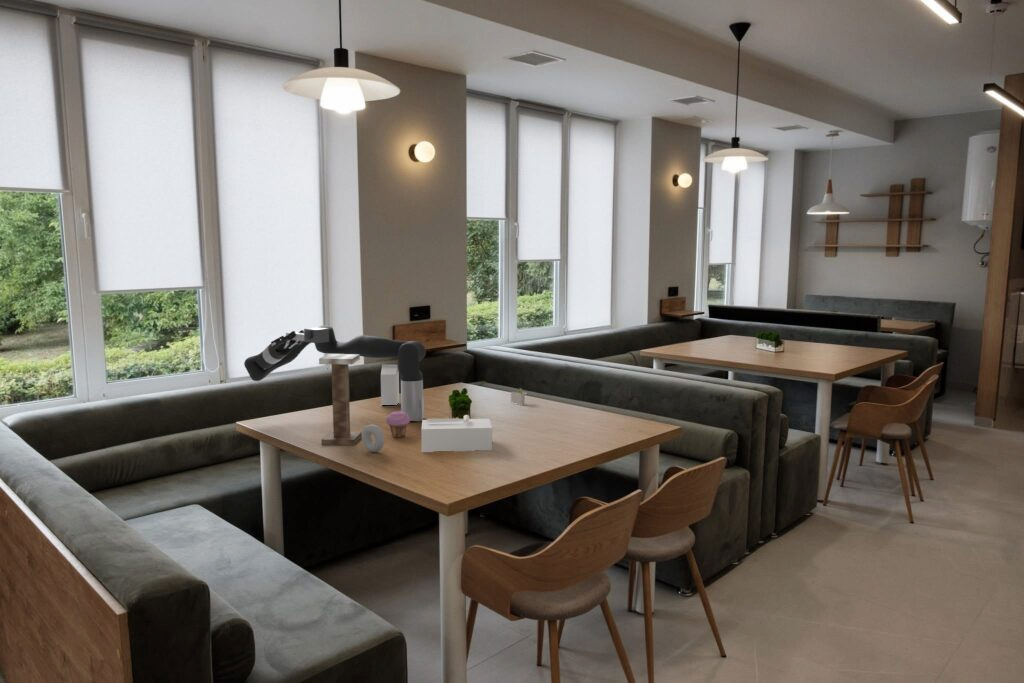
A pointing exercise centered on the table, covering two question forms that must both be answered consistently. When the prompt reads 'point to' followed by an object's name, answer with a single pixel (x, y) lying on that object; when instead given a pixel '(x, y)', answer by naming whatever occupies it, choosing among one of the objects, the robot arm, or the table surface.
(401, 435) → the cupcake
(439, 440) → the tissue box
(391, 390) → the milk carton
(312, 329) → the grey block with knob
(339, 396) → the stand
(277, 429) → the table surface
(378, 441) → the donut
